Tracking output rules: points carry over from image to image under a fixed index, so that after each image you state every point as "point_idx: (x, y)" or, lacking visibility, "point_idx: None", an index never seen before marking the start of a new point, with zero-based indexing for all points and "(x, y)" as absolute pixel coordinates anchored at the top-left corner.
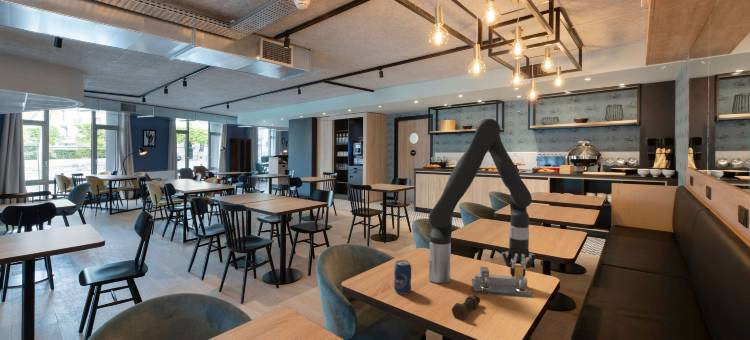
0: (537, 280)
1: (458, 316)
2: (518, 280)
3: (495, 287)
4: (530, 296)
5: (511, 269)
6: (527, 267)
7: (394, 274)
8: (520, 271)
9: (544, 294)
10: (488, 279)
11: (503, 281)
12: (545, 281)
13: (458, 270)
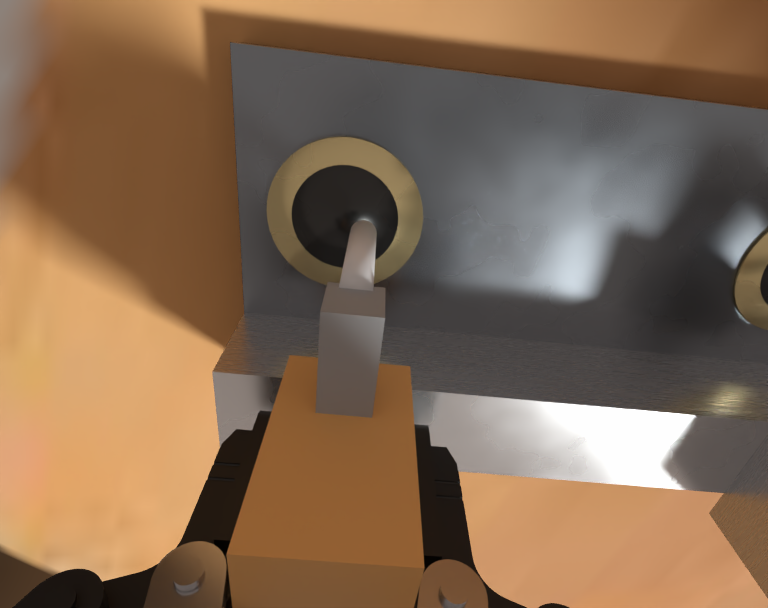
0: (105, 486)
1: None
2: None
3: (683, 265)
4: (261, 45)
5: (462, 544)
6: (114, 591)
7: None
8: (309, 475)
9: (51, 160)
10: (751, 398)
11: (548, 370)
12: (29, 473)
13: (758, 603)
